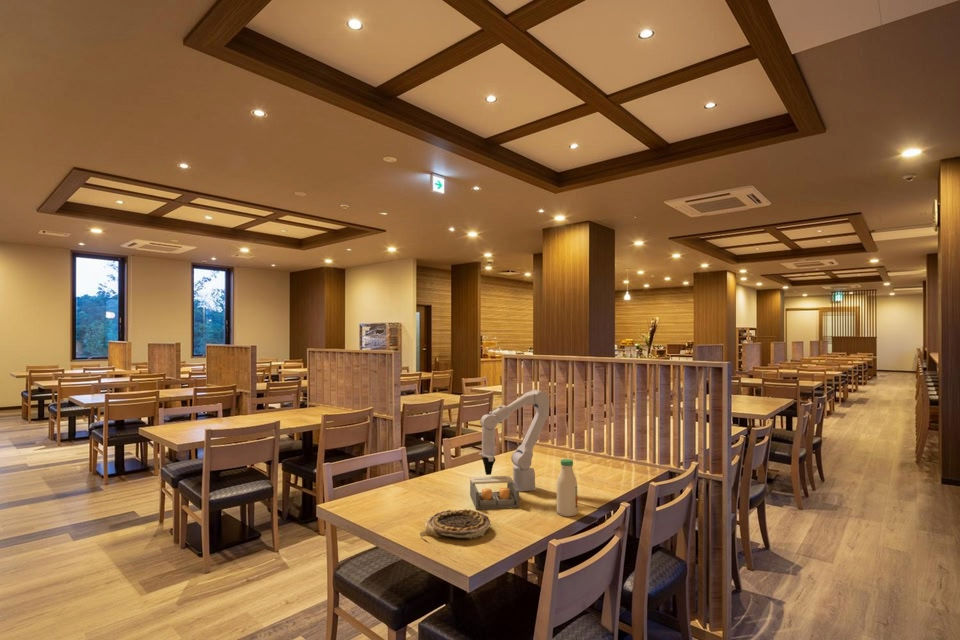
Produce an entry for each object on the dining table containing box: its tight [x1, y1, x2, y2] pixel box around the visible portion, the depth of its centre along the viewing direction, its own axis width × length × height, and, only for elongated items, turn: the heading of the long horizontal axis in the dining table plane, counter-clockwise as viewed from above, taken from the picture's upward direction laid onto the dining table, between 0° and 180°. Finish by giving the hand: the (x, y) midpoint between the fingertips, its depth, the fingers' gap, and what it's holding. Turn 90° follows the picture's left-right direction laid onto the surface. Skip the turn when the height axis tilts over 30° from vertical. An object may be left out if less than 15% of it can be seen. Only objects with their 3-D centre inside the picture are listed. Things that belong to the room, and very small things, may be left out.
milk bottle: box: [556, 458, 578, 517], centre depth 189 cm, size 8×8×20 cm
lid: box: [469, 475, 513, 485], centre depth 209 cm, size 17×7×1 cm, turn 98°
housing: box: [469, 479, 520, 511], centre depth 203 cm, size 17×18×7 cm
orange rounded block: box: [499, 487, 510, 500], centre depth 199 cm, size 4×4×5 cm
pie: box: [419, 509, 491, 542], centre depth 172 cm, size 28×27×5 cm
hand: (488, 474), depth 216 cm, fingers closed
